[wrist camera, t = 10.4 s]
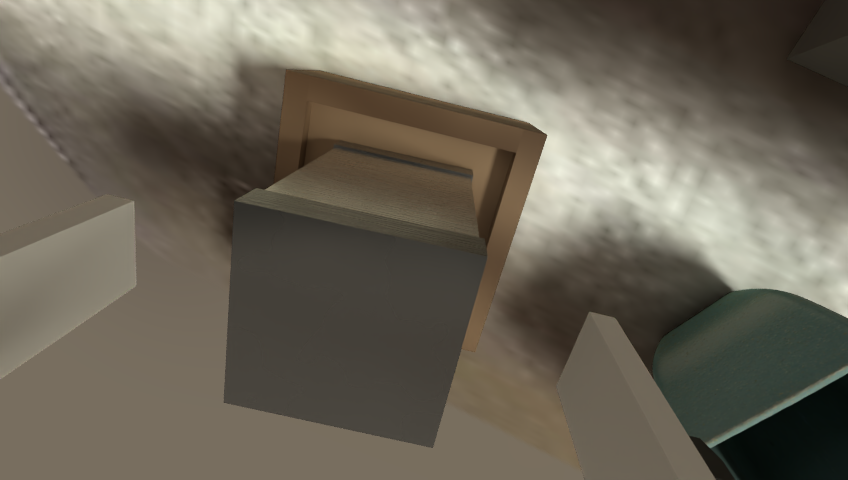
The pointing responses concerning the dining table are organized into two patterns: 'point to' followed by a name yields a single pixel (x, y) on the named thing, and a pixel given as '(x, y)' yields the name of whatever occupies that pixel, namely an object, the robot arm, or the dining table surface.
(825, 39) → the alarm clock
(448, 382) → the block
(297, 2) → the dining table surface
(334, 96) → the walnut stand
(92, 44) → the dining table surface
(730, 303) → the flower pot
